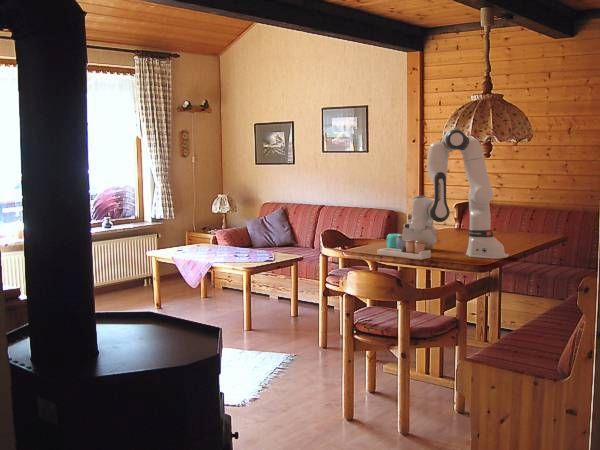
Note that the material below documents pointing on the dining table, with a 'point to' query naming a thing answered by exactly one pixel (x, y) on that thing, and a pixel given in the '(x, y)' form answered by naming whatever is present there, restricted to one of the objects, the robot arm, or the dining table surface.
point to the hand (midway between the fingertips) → (419, 250)
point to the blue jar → (399, 242)
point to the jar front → (418, 247)
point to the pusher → (403, 249)
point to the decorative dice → (391, 240)
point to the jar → (410, 246)
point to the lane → (406, 255)
